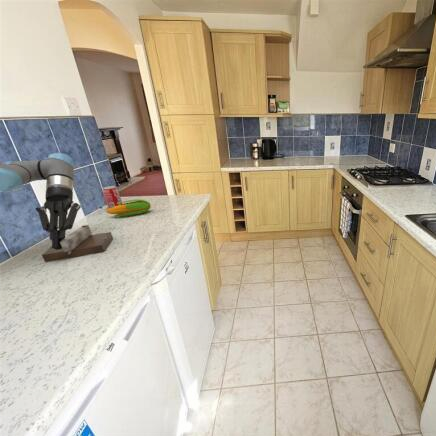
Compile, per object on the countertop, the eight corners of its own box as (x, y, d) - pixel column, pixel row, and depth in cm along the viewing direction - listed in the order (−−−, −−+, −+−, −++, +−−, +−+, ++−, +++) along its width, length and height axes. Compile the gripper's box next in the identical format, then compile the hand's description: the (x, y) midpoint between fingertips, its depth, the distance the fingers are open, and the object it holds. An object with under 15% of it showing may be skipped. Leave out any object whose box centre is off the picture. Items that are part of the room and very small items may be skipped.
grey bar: (70, 251, 87) (65, 240, 86) (64, 251, 87) (59, 241, 85) (92, 233, 100) (88, 224, 98) (86, 234, 100) (82, 225, 98)
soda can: (122, 204, 142) (116, 184, 137) (124, 207, 137) (117, 187, 132) (108, 207, 138) (101, 187, 133) (109, 211, 133) (101, 189, 128)
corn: (148, 199, 125) (101, 206, 117) (151, 213, 128) (106, 220, 120) (149, 196, 131) (104, 202, 123) (152, 209, 134) (109, 216, 126)
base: (40, 266, 84) (36, 259, 83) (63, 243, 100) (60, 236, 98) (102, 255, 90) (99, 248, 88) (115, 235, 105) (113, 228, 104)
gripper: (85, 192, 99) (84, 247, 91) (45, 197, 94) (40, 254, 87) (74, 183, 92) (73, 241, 84) (31, 187, 88) (25, 249, 80)
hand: (56, 248), depth 85 cm, fingers closed
